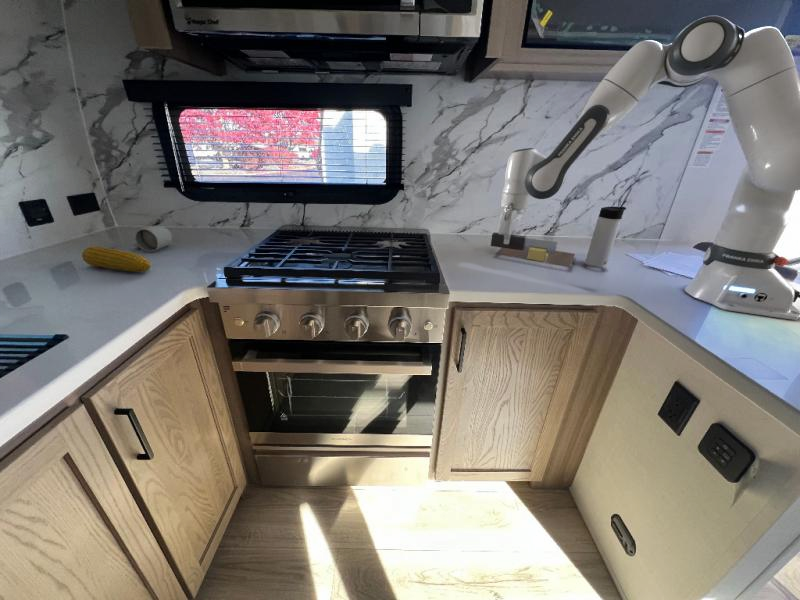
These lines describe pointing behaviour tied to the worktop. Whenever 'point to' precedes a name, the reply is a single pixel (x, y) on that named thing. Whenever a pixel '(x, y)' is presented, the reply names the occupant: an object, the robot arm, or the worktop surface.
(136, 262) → the food
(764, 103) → the robot arm
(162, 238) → the ceramic mug
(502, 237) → the knife
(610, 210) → the travel mug
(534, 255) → the butter slice
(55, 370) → the worktop surface
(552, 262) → the cutting board
